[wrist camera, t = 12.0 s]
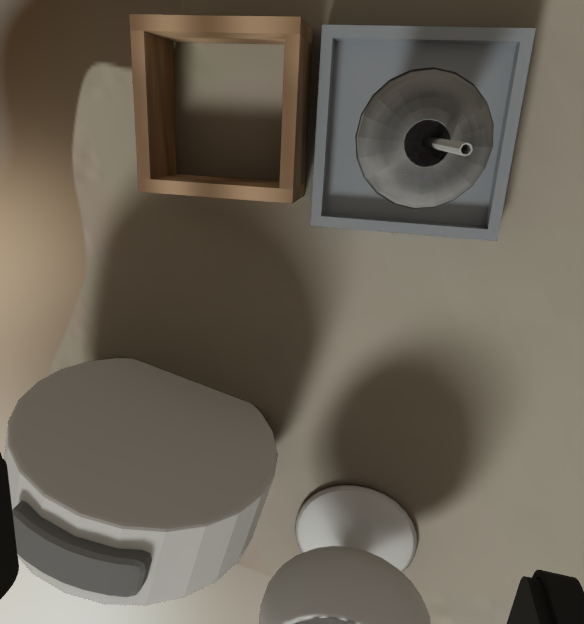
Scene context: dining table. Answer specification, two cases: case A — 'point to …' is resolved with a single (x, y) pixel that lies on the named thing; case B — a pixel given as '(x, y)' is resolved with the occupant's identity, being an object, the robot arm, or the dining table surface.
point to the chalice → (347, 564)
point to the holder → (161, 101)
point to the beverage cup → (424, 138)
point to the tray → (371, 77)
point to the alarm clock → (134, 481)
